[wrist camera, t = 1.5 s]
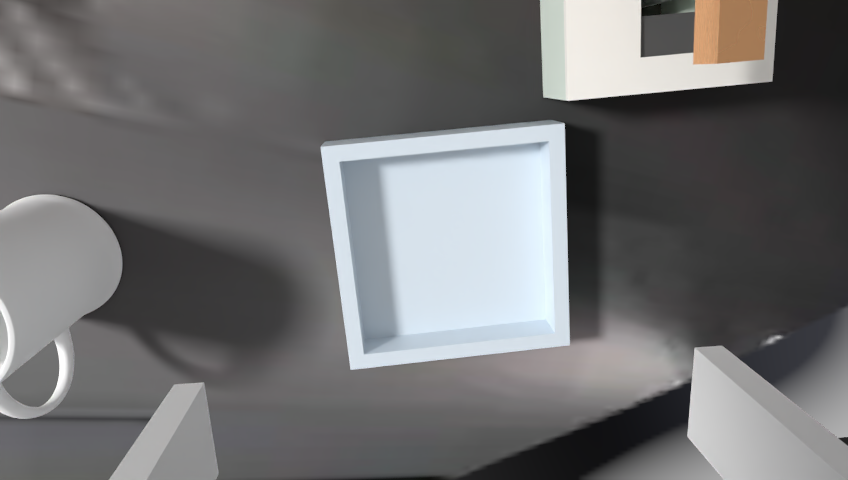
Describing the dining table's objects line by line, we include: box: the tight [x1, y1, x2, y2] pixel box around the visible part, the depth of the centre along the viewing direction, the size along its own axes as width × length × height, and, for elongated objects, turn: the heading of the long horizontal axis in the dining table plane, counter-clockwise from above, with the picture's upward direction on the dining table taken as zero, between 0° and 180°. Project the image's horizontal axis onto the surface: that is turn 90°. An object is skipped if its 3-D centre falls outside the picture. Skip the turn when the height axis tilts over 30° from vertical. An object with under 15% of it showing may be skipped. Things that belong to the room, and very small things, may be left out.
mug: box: [0, 194, 123, 419], centre depth 35 cm, size 12×8×12 cm
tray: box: [321, 120, 570, 370], centre depth 40 cm, size 15×15×3 cm
